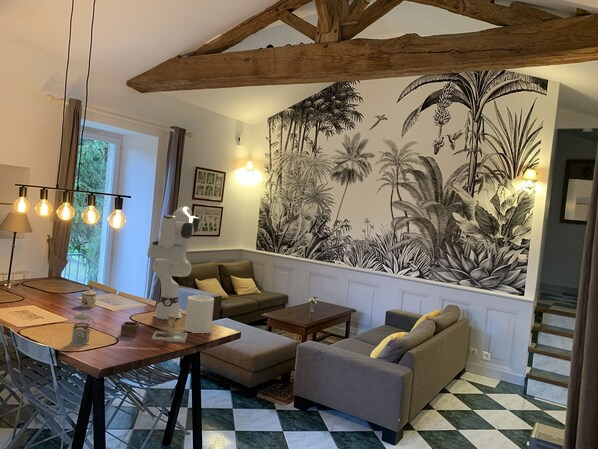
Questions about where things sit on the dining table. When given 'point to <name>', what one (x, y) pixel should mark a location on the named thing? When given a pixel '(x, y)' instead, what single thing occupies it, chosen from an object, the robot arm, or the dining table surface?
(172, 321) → the dowel
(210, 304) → the canister
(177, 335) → the tray
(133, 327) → the pen pot
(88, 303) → the teacup with lid
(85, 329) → the french press
